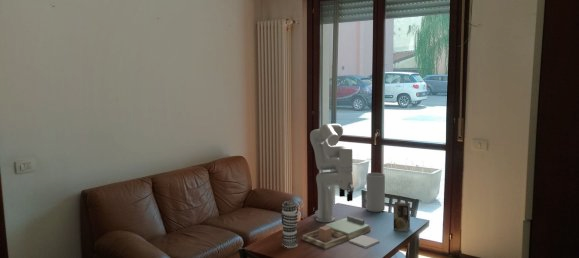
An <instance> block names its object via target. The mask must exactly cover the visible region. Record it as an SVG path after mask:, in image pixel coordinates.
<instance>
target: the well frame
mask: <svg viewBox="0 0 579 258" xmlns="http://www.w3.org/2000/svg"><path fill="white" fill-rule="evenodd" d="M370 232H371V226H370V227H368V228H365V229H363V230H360V231H358V232H355V233H352V234H350V235H347V234H344V233H342V232H339V231H336V230H333V229H331V236H334V237H336V238H335V239H331V240H329V241H327V242H324V241H322V240H319V239H316V238H314V237H316V236H319V228H318V229H315V230H313V231H312V230H311V231H309V232H308V233H305V234H302V235H301V240H302V241H305V242H308V243H309V244H313V245H315V246H317V247H319V248H323V249H325V250H326V249H329V248H331V247H333V246H337V245H339V244H341V243H344V242H346V241H349V240H351V239H354V238H356V237H359V236H361V235H364V234H366V233H370Z"/></svg>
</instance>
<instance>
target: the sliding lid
mask: <svg viewBox="0 0 579 258" xmlns="http://www.w3.org/2000/svg"><path fill="white" fill-rule="evenodd" d="M324 226H327V227H330V228H331V229H333V230H336V231H339V232H342V233H344V234H347V235H350V234H352V233H355V232H358V231H360V230H363V229H365V228H368V227H371V225H369V224H367V223H365V219H362V218H359V217H355V216H353V215H347V217H345V218H342V219H341V218H340V219H338V220H334V221H332V222H328V223H327V224H325V225H324Z"/></svg>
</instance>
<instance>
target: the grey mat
mask: <svg viewBox="0 0 579 258" xmlns="http://www.w3.org/2000/svg"><path fill="white" fill-rule="evenodd" d="M348 243H350V244H354V245H356V246H360V247H362V248H364V249H367V248H370V247H372V246H374V245H377V244H379V243H380V240H378V239H376V238H374V237H371V236H367V235H364V234H362V235H359V236H357V237H354V238H352V239H349V240H348Z"/></svg>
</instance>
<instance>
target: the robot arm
mask: <svg viewBox="0 0 579 258" xmlns="http://www.w3.org/2000/svg"><path fill="white" fill-rule="evenodd" d="M343 134H344V129H343V126H342V125H341V124H339V123H326V124H322V125H321V126H320V128H317V129H313V130H312V131H310V135H309V140H310V143H311V146H312V148H313V150H314V157H315V165H316V168H317V169H318V170H319V171H321V172H319V173H317V174H316V177H315V180H316V185H317V210H315V212H314V214H315V215H316V216H315V221H317V222H320V223H332V222H335V221H336V217H335V216H334V215H333V214H334V213H333V212H334V211H333V210H334V206H333V205H334V204H333V203H334V200H333V191H332V190H331V189H330V187H338V190H339V197H340V198H343V197H345V196H346V202H352V201H353V194H354V189H355V188H354V185H353V183H354V182H353V149H352V147H350V146H349V145H347V144H341V145H340V144H338V143H339V140H340V138H341V137H342V136H343ZM330 170H331V171H330ZM322 171H323V172H322ZM346 192H347V194H346Z"/></svg>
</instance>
